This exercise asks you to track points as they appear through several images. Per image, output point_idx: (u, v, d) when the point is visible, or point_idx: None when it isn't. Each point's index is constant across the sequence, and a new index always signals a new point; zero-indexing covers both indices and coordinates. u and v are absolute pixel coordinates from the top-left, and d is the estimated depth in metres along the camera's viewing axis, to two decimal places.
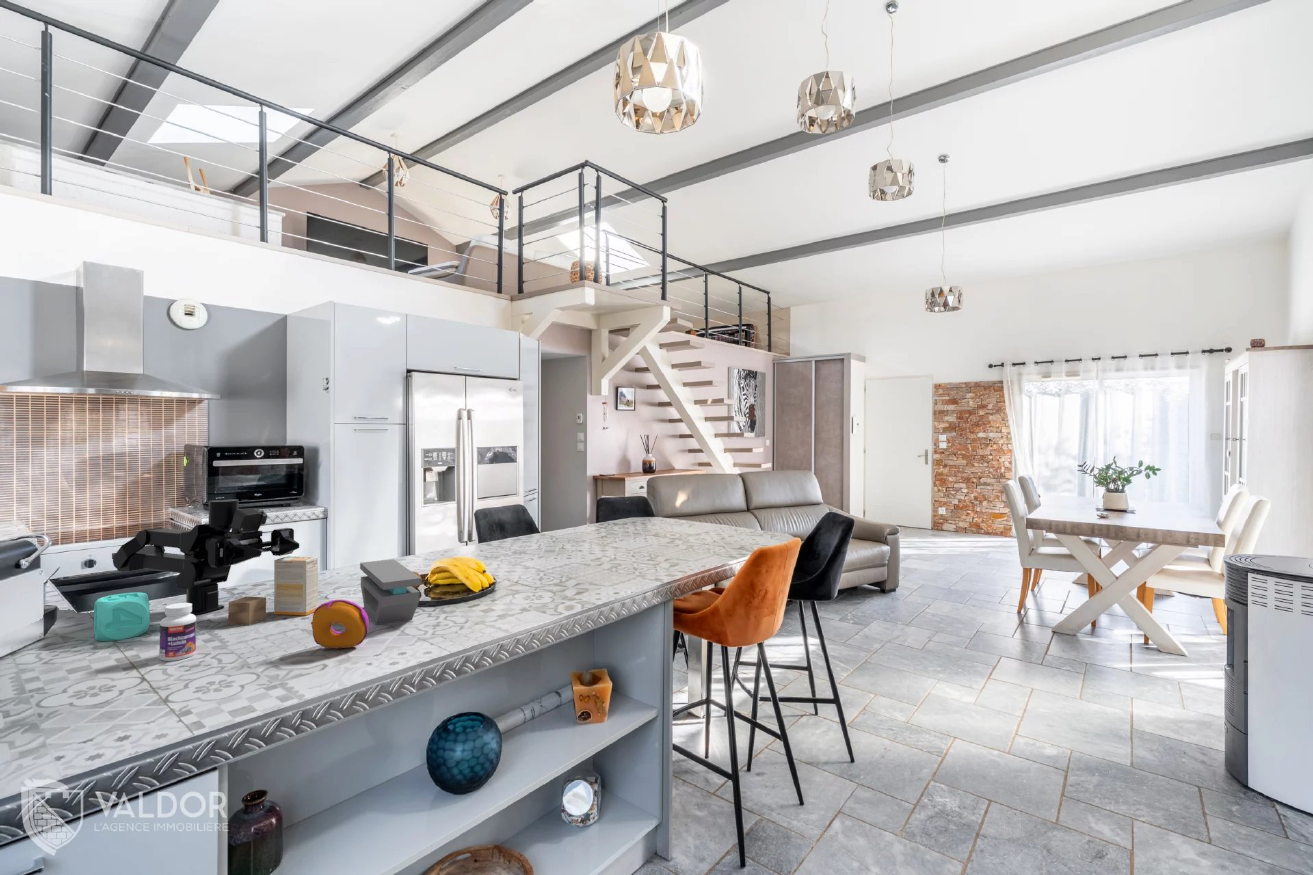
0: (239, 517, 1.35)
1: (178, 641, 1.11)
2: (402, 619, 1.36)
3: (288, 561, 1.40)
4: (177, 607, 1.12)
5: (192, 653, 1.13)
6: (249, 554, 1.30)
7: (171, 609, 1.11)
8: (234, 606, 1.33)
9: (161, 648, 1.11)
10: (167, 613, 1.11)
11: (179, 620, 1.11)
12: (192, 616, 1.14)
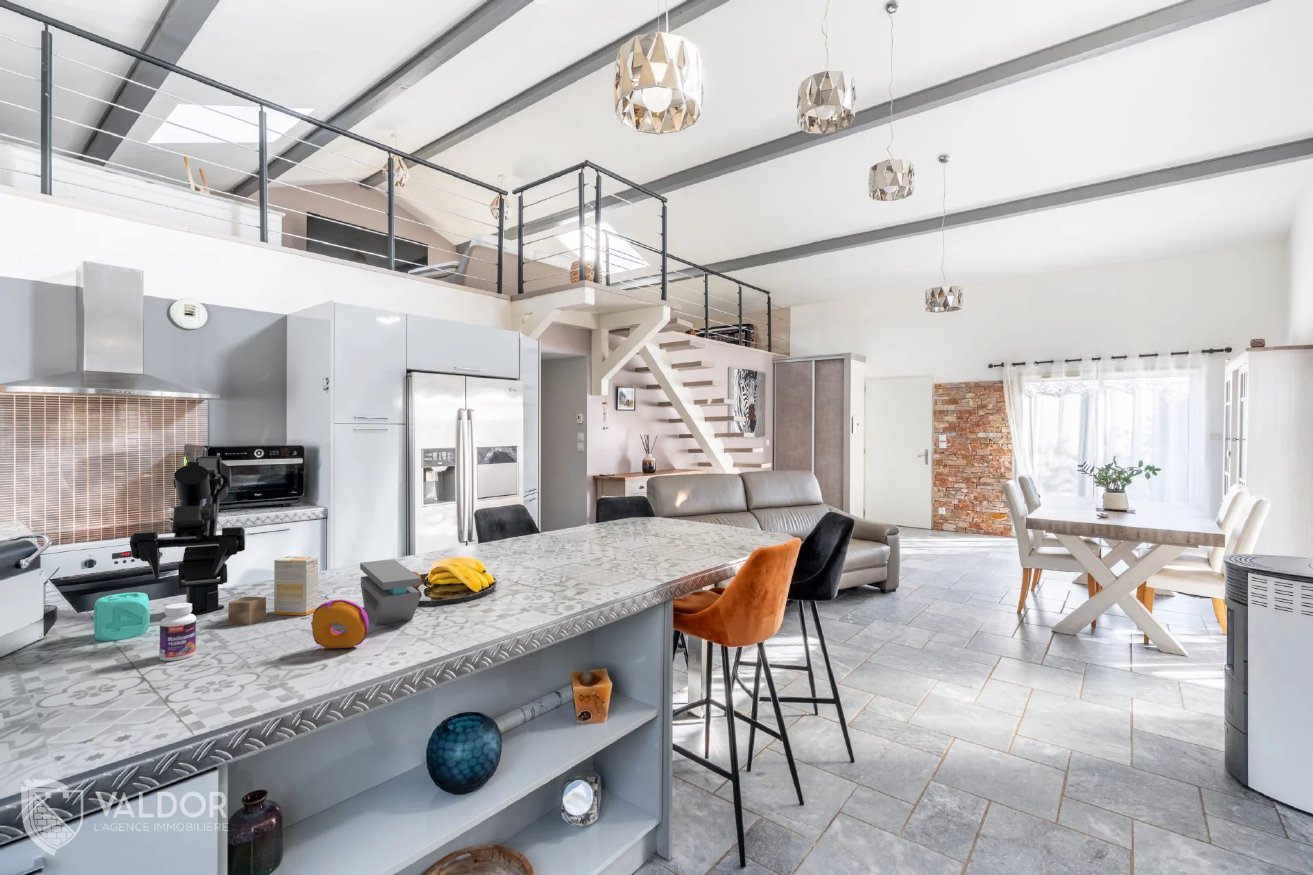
0: None
1: (178, 641, 1.11)
2: (402, 619, 1.36)
3: (288, 561, 1.40)
4: (177, 607, 1.12)
5: (192, 653, 1.13)
6: None
7: (171, 609, 1.11)
8: (234, 606, 1.33)
9: (161, 648, 1.11)
10: (167, 613, 1.11)
11: (179, 620, 1.11)
12: (192, 616, 1.14)
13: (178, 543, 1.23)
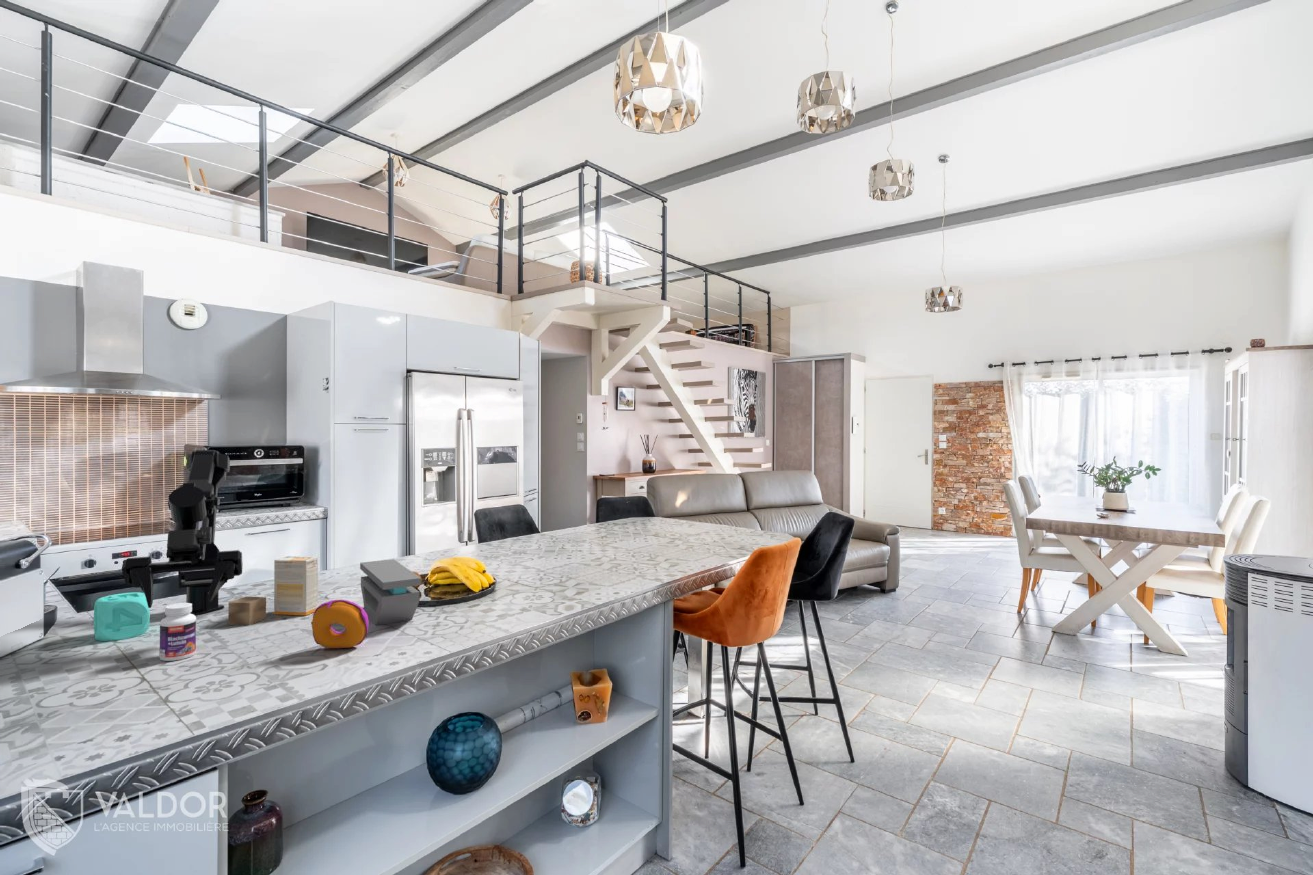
0: None
1: (178, 641, 1.11)
2: (402, 619, 1.36)
3: (288, 561, 1.40)
4: (177, 607, 1.12)
5: (192, 653, 1.13)
6: None
7: (171, 609, 1.11)
8: (234, 606, 1.33)
9: (161, 648, 1.11)
10: (167, 613, 1.11)
11: (179, 620, 1.11)
12: (192, 616, 1.14)
13: (172, 568, 1.19)
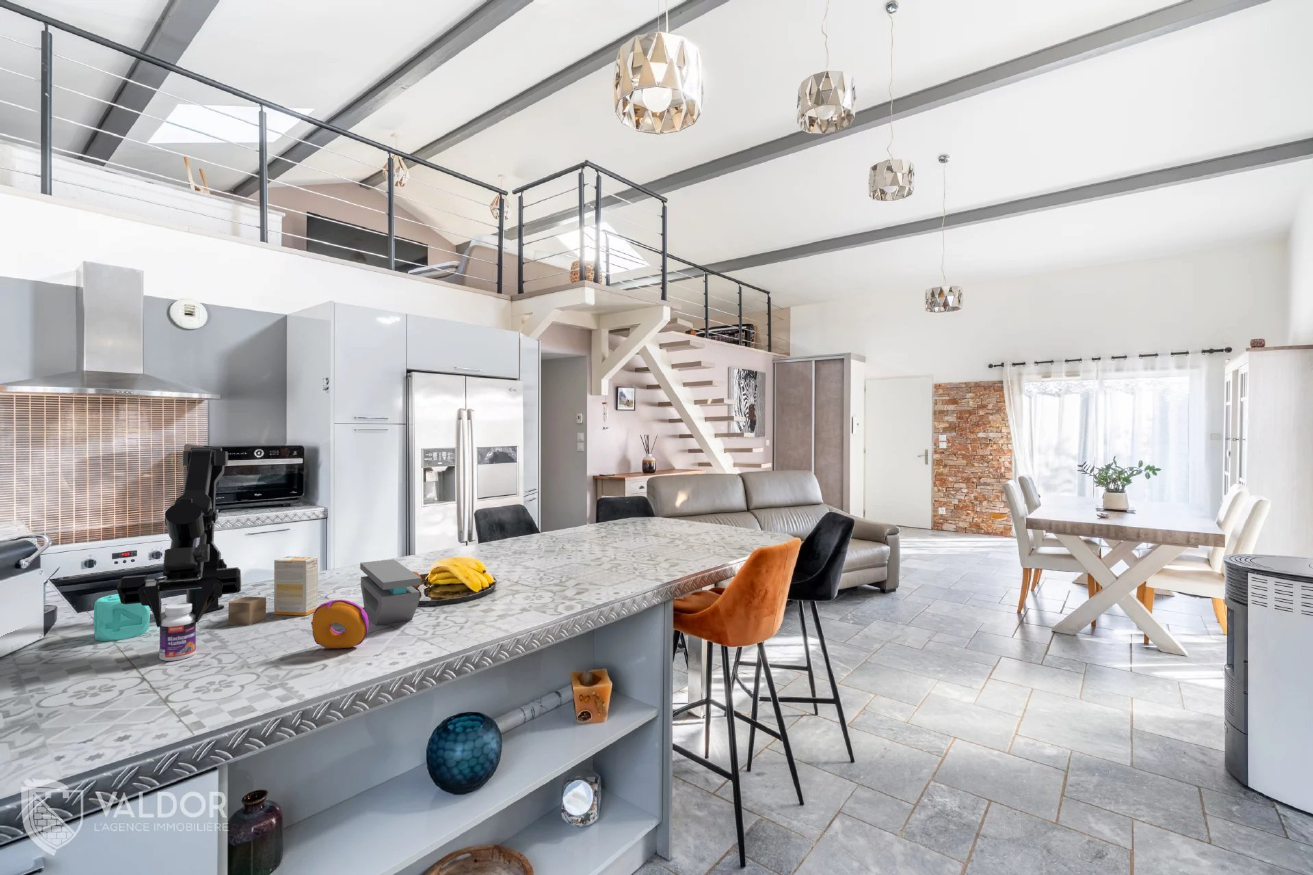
0: (164, 559, 1.13)
1: (178, 641, 1.11)
2: (402, 619, 1.36)
3: (288, 561, 1.40)
4: (177, 607, 1.12)
5: (192, 653, 1.13)
6: None
7: (171, 609, 1.11)
8: (234, 606, 1.33)
9: (161, 648, 1.11)
10: (167, 613, 1.11)
11: (179, 620, 1.11)
12: (192, 616, 1.14)
13: (169, 587, 1.16)
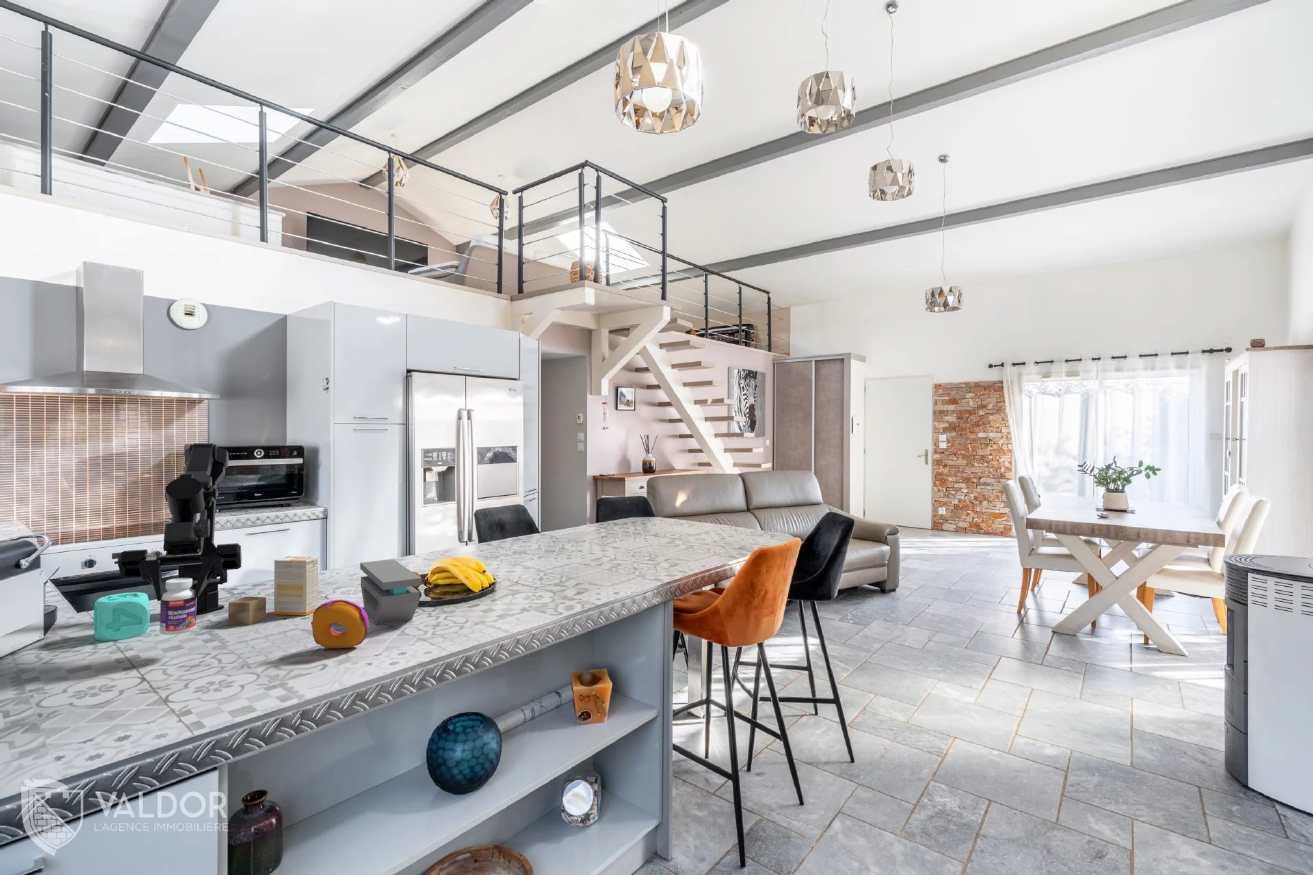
0: None
1: (179, 615, 1.11)
2: (402, 619, 1.36)
3: (288, 561, 1.40)
4: (177, 581, 1.12)
5: (192, 627, 1.13)
6: (154, 590, 1.12)
7: (171, 583, 1.11)
8: (234, 606, 1.33)
9: (161, 622, 1.11)
10: (167, 587, 1.11)
11: (179, 595, 1.11)
12: (192, 591, 1.14)
13: (170, 561, 1.16)
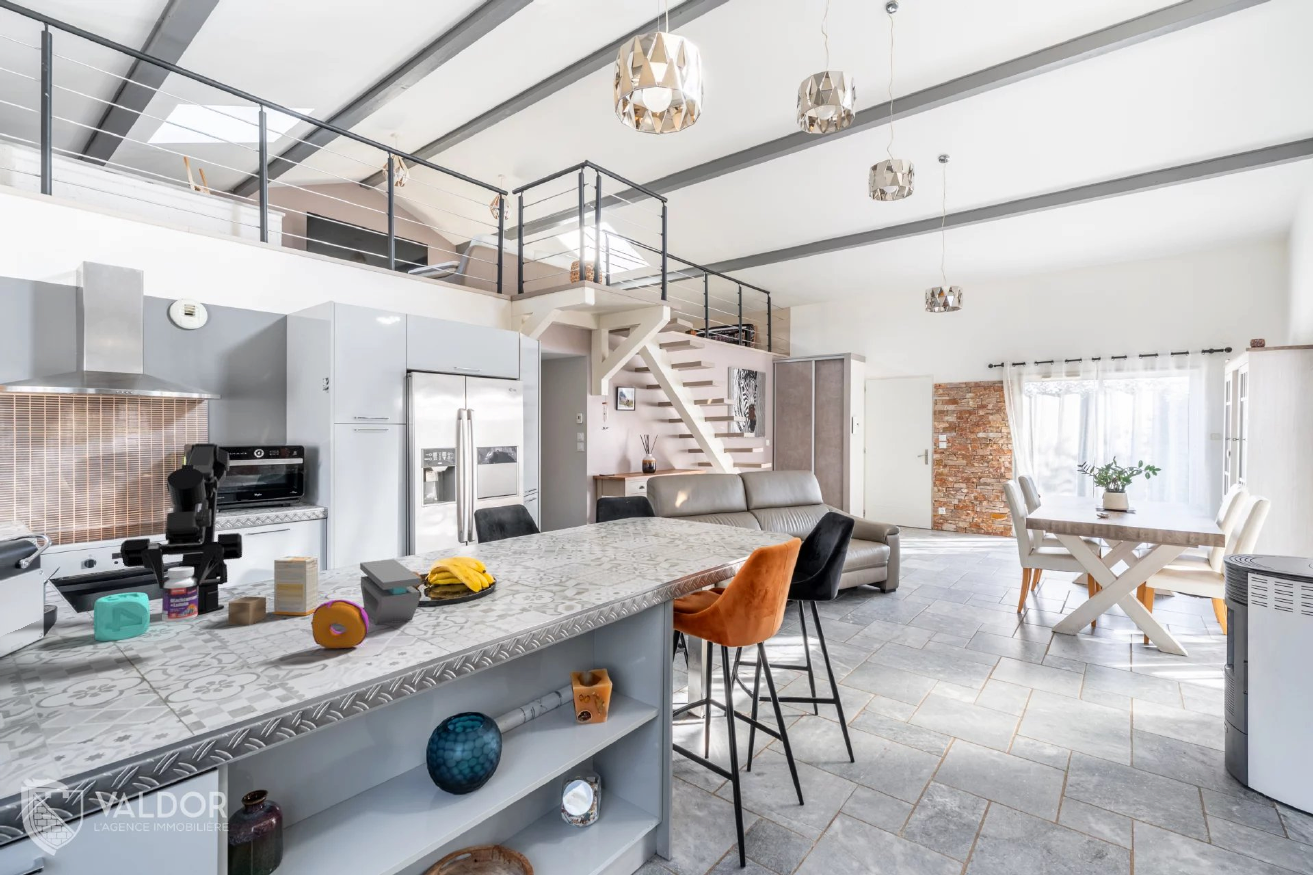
0: None
1: (181, 603, 1.13)
2: (402, 619, 1.36)
3: (288, 561, 1.40)
4: (179, 570, 1.14)
5: (194, 615, 1.15)
6: None
7: (173, 571, 1.13)
8: (234, 606, 1.33)
9: (164, 609, 1.13)
10: (169, 575, 1.13)
11: (181, 583, 1.13)
12: (194, 579, 1.16)
13: (172, 550, 1.17)
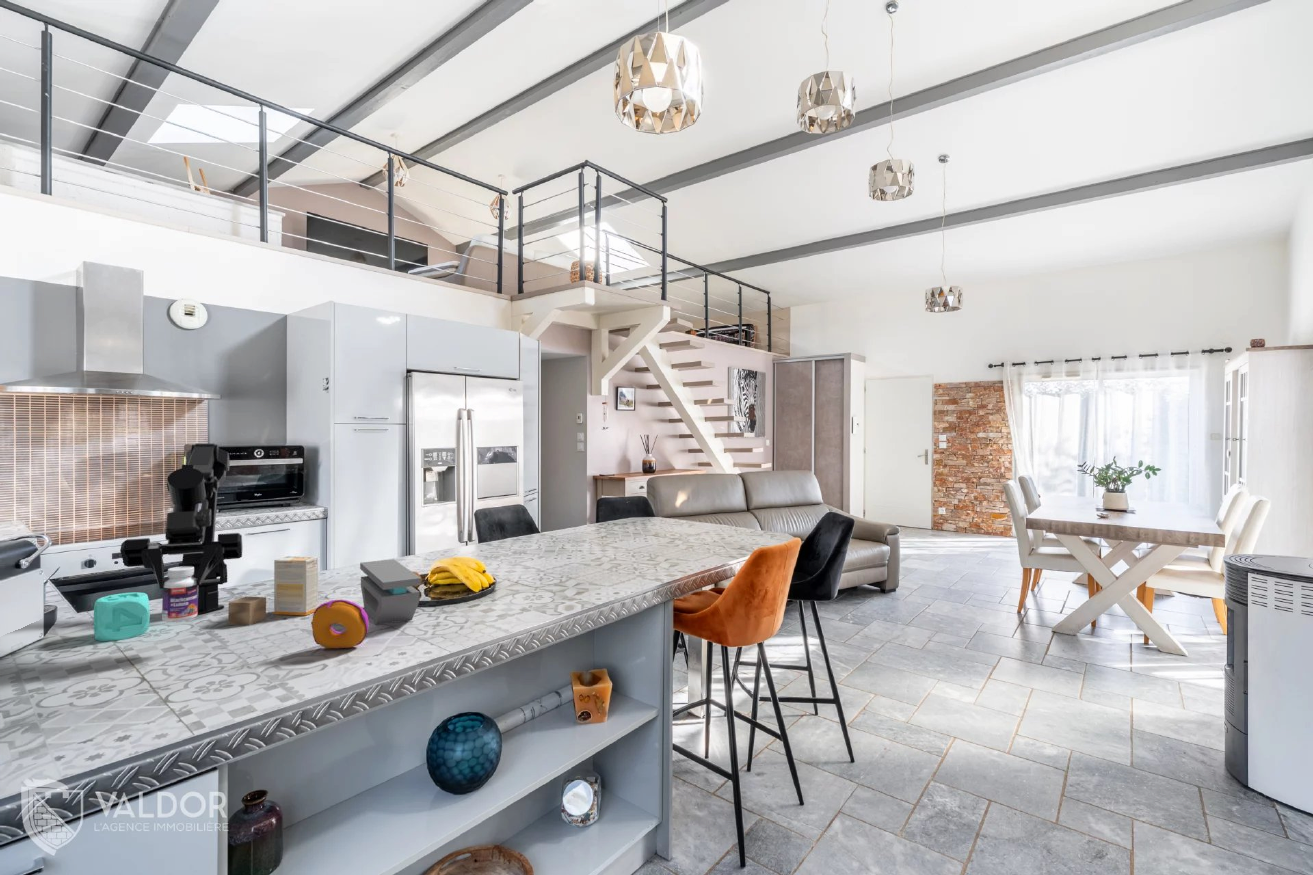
0: None
1: (180, 603, 1.13)
2: (402, 619, 1.36)
3: (288, 561, 1.40)
4: (179, 569, 1.14)
5: (194, 615, 1.15)
6: None
7: (173, 571, 1.13)
8: (234, 606, 1.33)
9: (164, 609, 1.13)
10: (170, 575, 1.13)
11: (181, 582, 1.13)
12: (194, 579, 1.16)
13: (172, 550, 1.17)
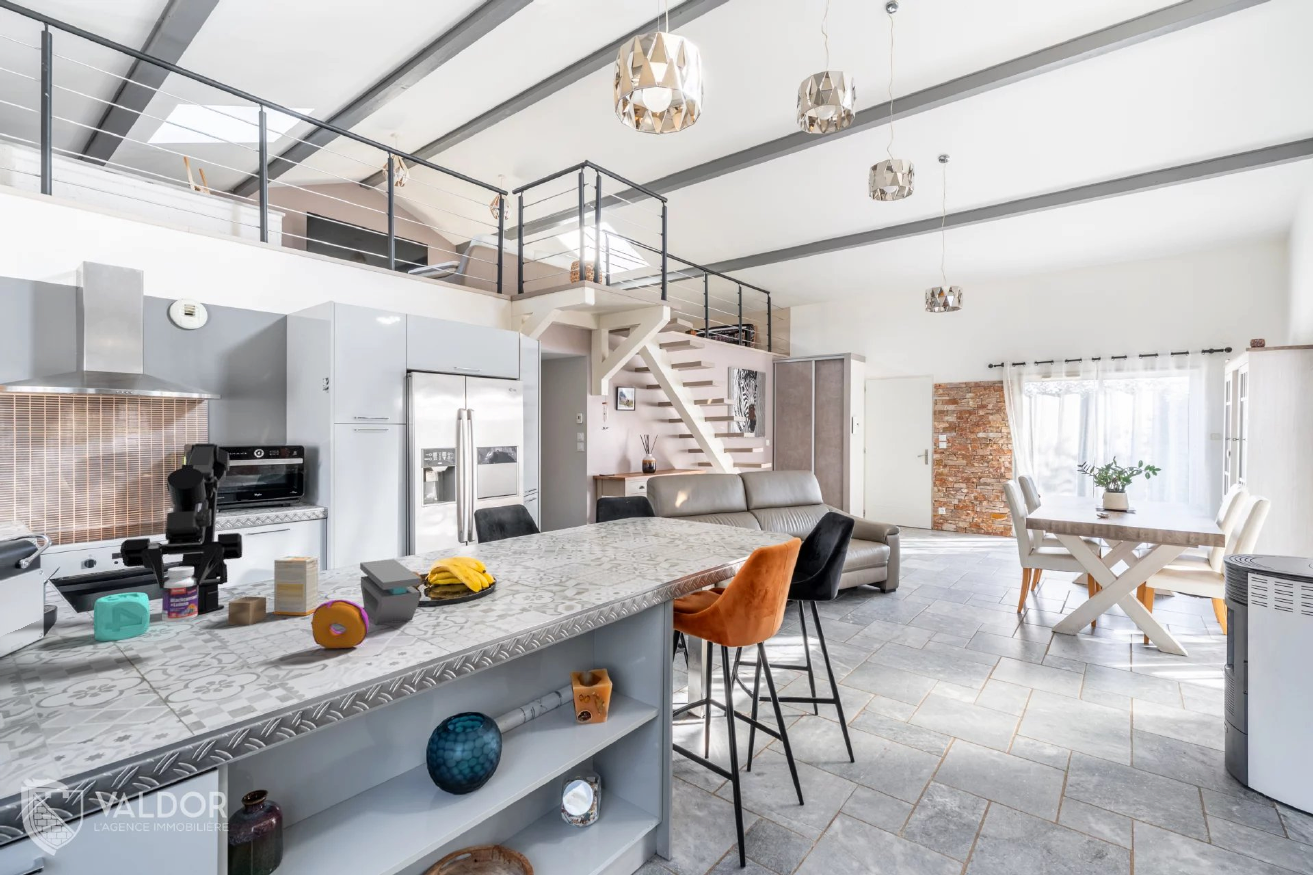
0: None
1: (180, 603, 1.13)
2: (402, 619, 1.36)
3: (288, 561, 1.40)
4: (179, 569, 1.14)
5: (194, 615, 1.15)
6: None
7: (173, 571, 1.13)
8: (234, 606, 1.33)
9: (164, 609, 1.13)
10: (170, 575, 1.13)
11: (181, 582, 1.13)
12: (194, 579, 1.16)
13: (172, 550, 1.17)
